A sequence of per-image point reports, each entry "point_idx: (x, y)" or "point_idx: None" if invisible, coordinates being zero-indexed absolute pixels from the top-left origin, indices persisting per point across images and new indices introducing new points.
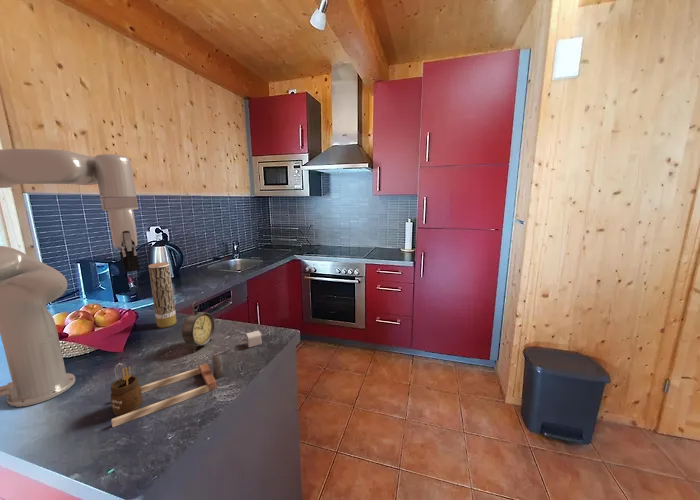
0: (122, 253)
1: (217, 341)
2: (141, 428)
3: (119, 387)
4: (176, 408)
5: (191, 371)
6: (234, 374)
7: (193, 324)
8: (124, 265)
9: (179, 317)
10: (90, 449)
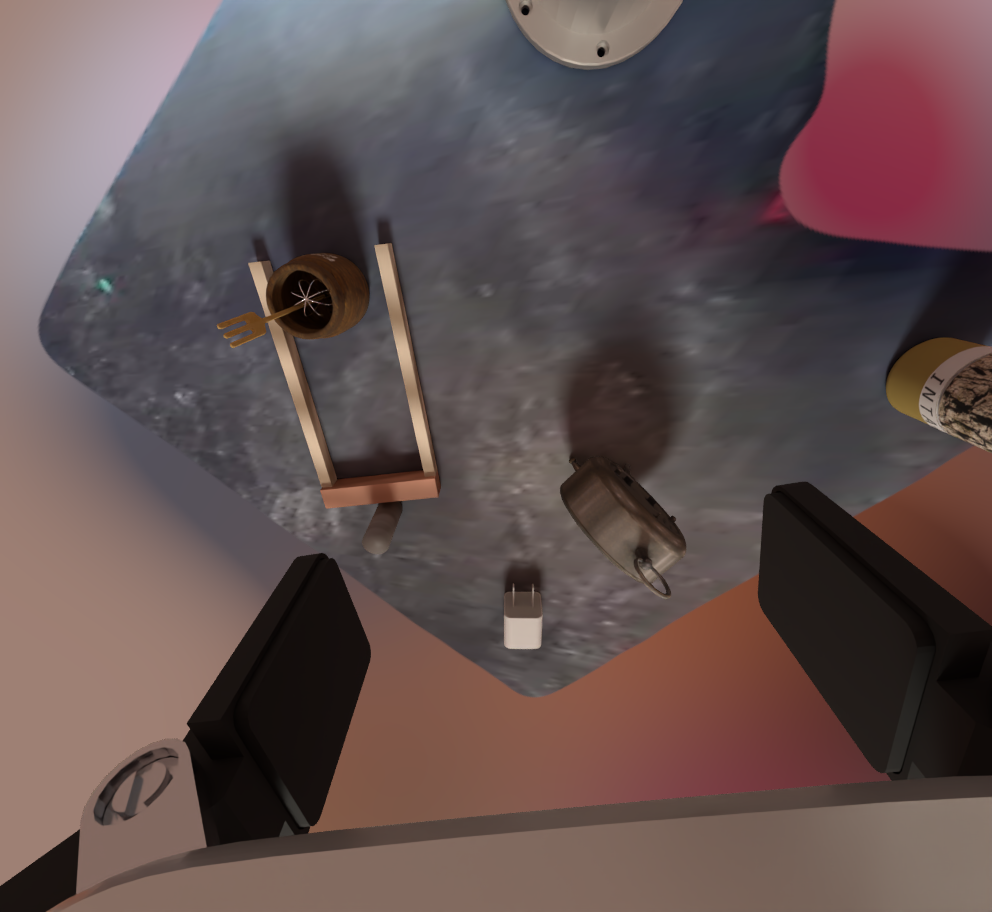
0: (892, 636)
1: None
2: None
3: (337, 277)
4: (283, 408)
5: (420, 454)
6: None
7: (579, 526)
8: (263, 616)
9: None
10: (187, 222)
